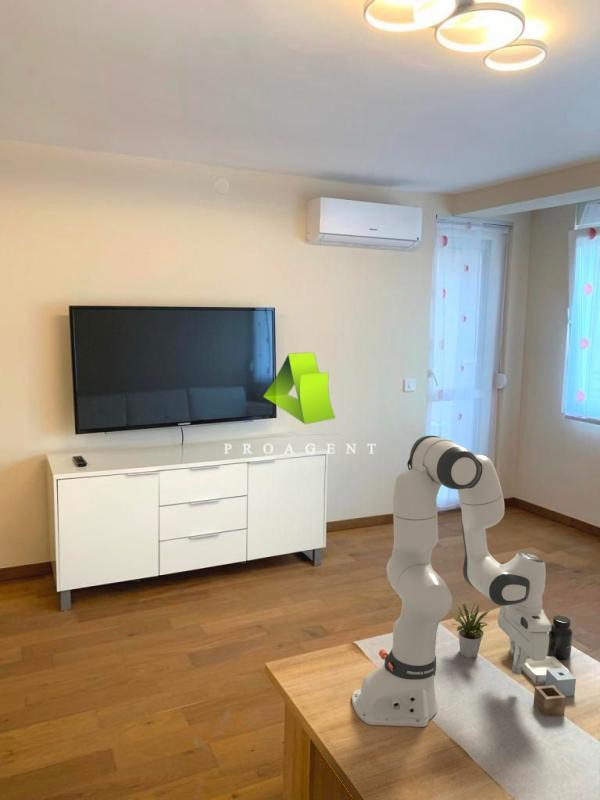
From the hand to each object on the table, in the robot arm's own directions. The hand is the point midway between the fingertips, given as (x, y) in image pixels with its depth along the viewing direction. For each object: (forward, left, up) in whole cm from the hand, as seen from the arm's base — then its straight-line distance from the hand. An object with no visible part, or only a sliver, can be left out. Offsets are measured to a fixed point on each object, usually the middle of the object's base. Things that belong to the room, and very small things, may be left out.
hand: (518, 658), depth 175 cm
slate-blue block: (+12, -2, -9) cm, 15 cm away
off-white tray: (+13, +6, -9) cm, 17 cm away
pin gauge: (0, 0, -4) cm, 4 cm away
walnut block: (+4, -10, -9) cm, 14 cm away
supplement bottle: (+23, +15, -9) cm, 28 cm away
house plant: (-6, +20, -9) cm, 23 cm away
